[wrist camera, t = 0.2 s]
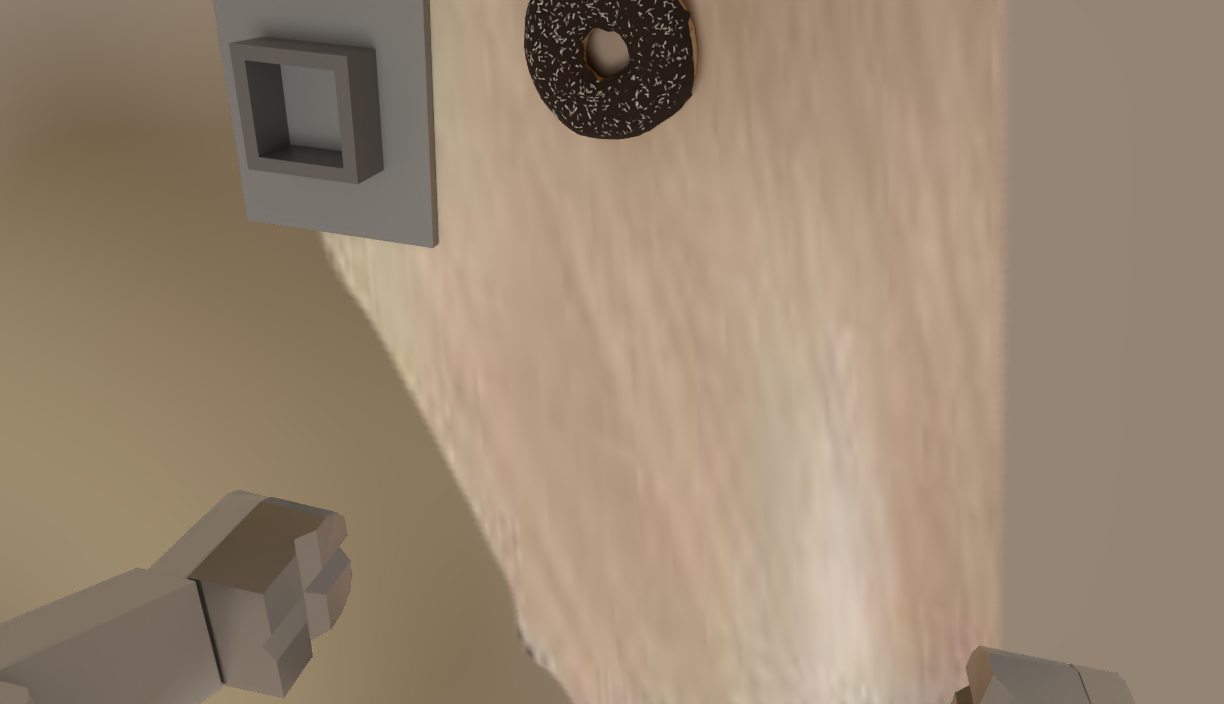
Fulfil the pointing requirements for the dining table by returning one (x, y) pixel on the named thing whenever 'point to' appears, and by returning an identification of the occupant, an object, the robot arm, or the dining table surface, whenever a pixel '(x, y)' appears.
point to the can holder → (334, 114)
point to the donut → (624, 103)
